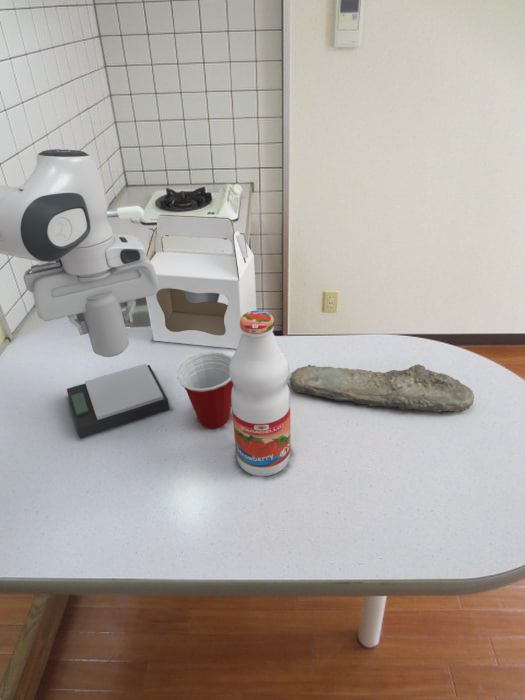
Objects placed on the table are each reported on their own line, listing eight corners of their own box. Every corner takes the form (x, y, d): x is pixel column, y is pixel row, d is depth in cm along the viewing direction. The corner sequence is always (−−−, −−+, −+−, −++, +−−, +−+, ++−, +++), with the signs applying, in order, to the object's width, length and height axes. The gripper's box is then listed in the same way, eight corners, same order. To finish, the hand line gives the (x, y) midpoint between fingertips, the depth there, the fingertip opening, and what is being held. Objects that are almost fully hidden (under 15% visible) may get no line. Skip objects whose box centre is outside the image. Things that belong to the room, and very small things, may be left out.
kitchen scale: (80, 438, 96) (76, 425, 94) (69, 398, 106) (65, 385, 104) (169, 409, 102) (167, 396, 100) (151, 373, 111) (148, 361, 110)
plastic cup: (179, 407, 102) (171, 357, 95) (233, 395, 105) (228, 345, 98) (190, 445, 94) (181, 393, 87) (248, 431, 96) (244, 379, 89)
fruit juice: (291, 438, 94) (291, 302, 78) (289, 479, 86) (288, 337, 70) (239, 436, 95) (228, 301, 79) (232, 476, 87) (218, 335, 71)
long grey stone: (295, 373, 112) (286, 406, 104) (293, 354, 109) (284, 385, 101) (470, 385, 103) (474, 421, 96) (474, 364, 100) (478, 400, 92)
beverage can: (93, 362, 91) (77, 301, 84) (93, 342, 96) (77, 284, 90) (130, 355, 92) (117, 295, 86) (128, 336, 98) (115, 278, 91)
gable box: (258, 319, 128) (252, 207, 112) (244, 350, 117) (237, 231, 102) (172, 312, 132) (155, 203, 116) (152, 341, 122) (130, 225, 106)
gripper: (21, 276, 78) (47, 352, 86) (155, 247, 85) (167, 320, 93) (18, 260, 83) (42, 334, 91) (144, 234, 90) (157, 305, 98)
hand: (106, 327), depth 92 cm, fingers closed on beverage can, 6 cm apart
